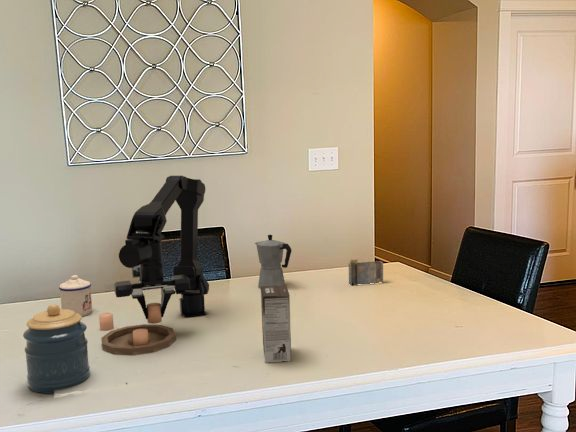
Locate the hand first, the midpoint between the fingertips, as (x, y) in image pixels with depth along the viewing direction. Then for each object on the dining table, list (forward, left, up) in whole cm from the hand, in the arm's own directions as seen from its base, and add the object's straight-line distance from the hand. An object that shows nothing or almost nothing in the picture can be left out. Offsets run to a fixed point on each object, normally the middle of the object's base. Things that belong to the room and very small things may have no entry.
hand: (154, 317), depth 164 cm
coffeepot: (-44, -36, -6) cm, 58 cm away
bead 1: (+12, -12, -6) cm, 18 cm away
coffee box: (-25, +24, -6) cm, 35 cm away
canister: (+24, +20, -6) cm, 31 cm away
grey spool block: (-74, -27, -6) cm, 79 cm away
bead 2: (+5, +8, -5) cm, 10 cm away
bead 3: (0, 0, -1) cm, 1 cm away
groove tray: (+5, +3, -6) cm, 8 cm away
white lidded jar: (+19, -34, -6) cm, 39 cm away
